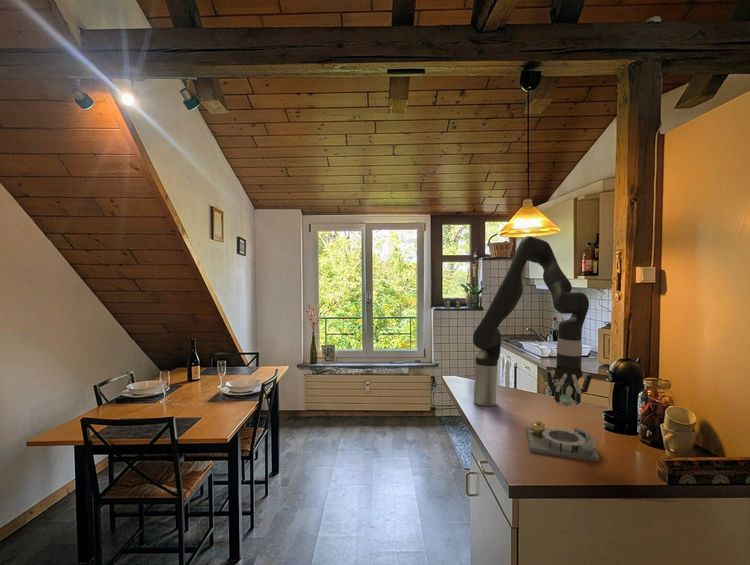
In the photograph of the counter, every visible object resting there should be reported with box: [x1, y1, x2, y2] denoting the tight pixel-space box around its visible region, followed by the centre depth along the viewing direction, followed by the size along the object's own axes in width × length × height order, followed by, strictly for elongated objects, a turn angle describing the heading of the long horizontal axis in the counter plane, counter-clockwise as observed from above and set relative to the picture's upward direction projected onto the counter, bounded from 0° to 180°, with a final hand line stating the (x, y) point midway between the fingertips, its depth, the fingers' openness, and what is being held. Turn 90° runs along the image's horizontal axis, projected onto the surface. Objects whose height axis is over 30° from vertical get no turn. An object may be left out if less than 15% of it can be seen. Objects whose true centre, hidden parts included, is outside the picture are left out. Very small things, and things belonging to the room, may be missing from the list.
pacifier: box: [554, 385, 577, 407], centre depth 137 cm, size 7×6×6 cm
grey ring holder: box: [525, 420, 600, 463], centre depth 138 cm, size 20×18×6 cm
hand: (567, 402), depth 137 cm, fingers closed on pacifier, 5 cm apart
